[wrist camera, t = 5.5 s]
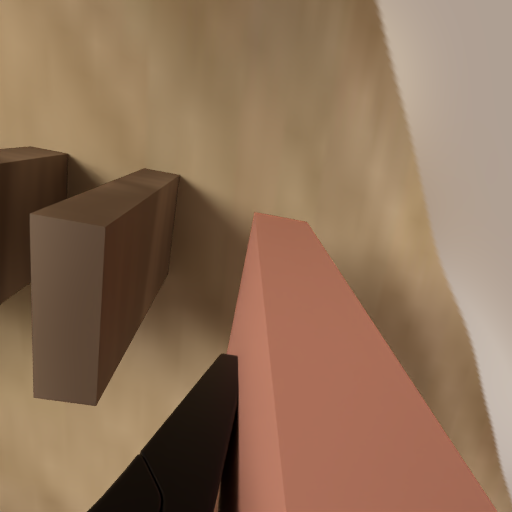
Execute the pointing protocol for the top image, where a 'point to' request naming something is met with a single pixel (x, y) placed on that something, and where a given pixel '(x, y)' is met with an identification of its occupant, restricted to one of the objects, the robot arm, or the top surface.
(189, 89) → the top surface
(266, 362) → the tile
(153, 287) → the tile
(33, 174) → the tile
